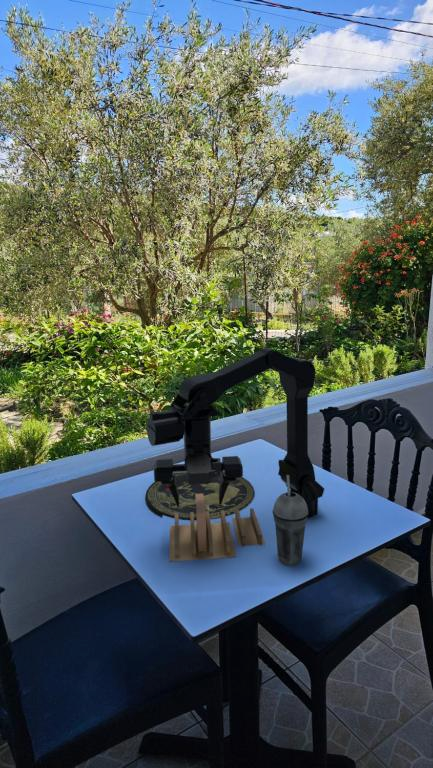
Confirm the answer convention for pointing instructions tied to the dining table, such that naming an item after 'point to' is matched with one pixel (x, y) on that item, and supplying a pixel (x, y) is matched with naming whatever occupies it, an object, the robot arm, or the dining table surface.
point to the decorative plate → (164, 503)
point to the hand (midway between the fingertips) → (199, 504)
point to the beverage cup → (290, 526)
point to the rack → (187, 544)
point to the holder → (247, 529)
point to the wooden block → (201, 522)
